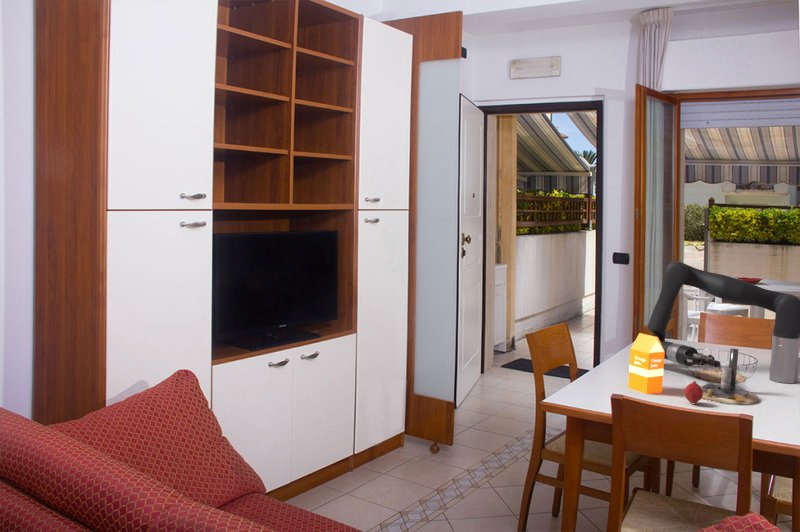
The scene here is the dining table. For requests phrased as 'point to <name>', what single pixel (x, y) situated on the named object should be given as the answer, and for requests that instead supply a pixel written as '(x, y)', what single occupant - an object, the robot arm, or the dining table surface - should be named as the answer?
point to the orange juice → (646, 365)
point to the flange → (734, 391)
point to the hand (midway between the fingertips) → (718, 364)
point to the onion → (693, 392)
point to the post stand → (726, 387)
